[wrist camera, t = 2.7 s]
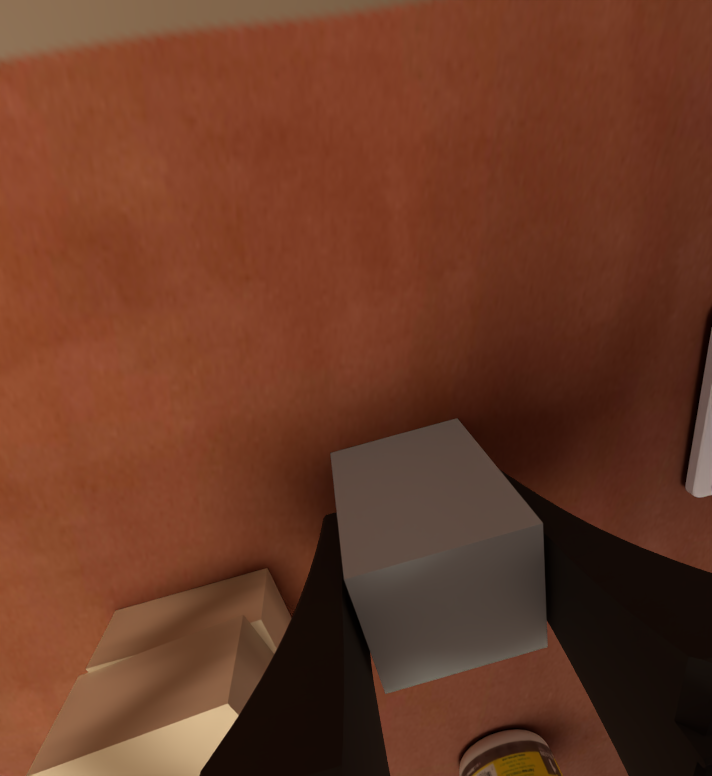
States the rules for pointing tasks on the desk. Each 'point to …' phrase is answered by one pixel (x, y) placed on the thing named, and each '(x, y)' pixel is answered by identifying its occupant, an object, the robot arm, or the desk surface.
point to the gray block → (438, 555)
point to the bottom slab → (194, 617)
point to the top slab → (157, 707)
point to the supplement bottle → (509, 756)
